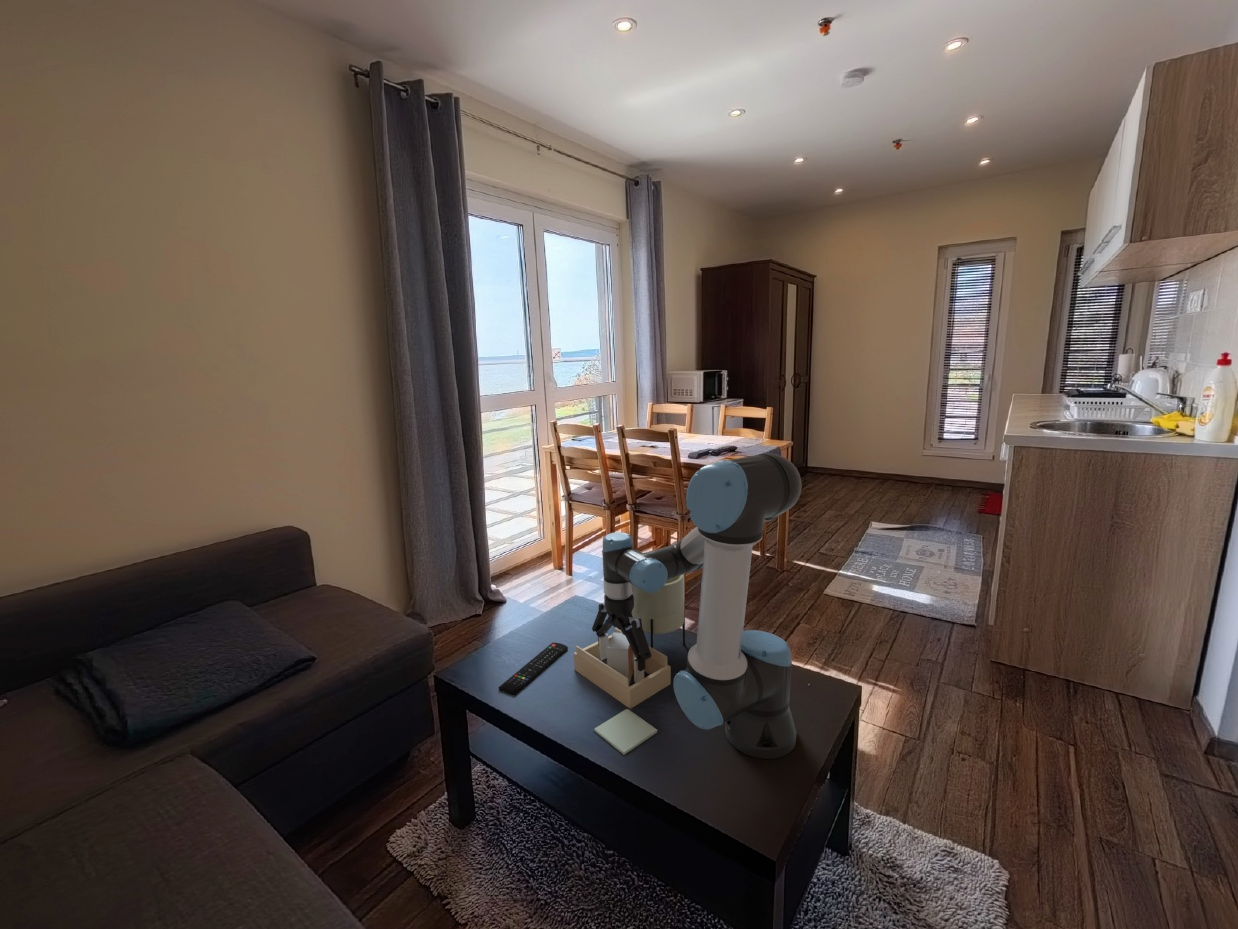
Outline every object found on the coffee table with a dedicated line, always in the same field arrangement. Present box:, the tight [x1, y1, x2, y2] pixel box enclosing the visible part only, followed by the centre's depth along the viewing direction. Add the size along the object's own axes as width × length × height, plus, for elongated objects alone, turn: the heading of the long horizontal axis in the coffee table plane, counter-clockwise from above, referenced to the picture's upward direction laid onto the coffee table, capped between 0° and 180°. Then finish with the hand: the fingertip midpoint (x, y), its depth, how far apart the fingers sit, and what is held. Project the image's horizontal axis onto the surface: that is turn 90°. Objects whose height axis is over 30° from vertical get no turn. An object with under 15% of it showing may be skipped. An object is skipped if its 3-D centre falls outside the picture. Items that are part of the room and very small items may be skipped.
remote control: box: [498, 642, 569, 696], centre depth 147 cm, size 5×24×1 cm, turn 151°
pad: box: [593, 708, 658, 756], centre depth 122 cm, size 10×10×1 cm
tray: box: [573, 627, 672, 710], centre depth 141 cm, size 22×14×7 cm, turn 41°
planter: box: [632, 574, 686, 649], centre depth 152 cm, size 15×16×23 cm
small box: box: [606, 631, 634, 686], centre depth 141 cm, size 8×6×10 cm
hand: (621, 669), depth 142 cm, fingers open, 13 cm apart
